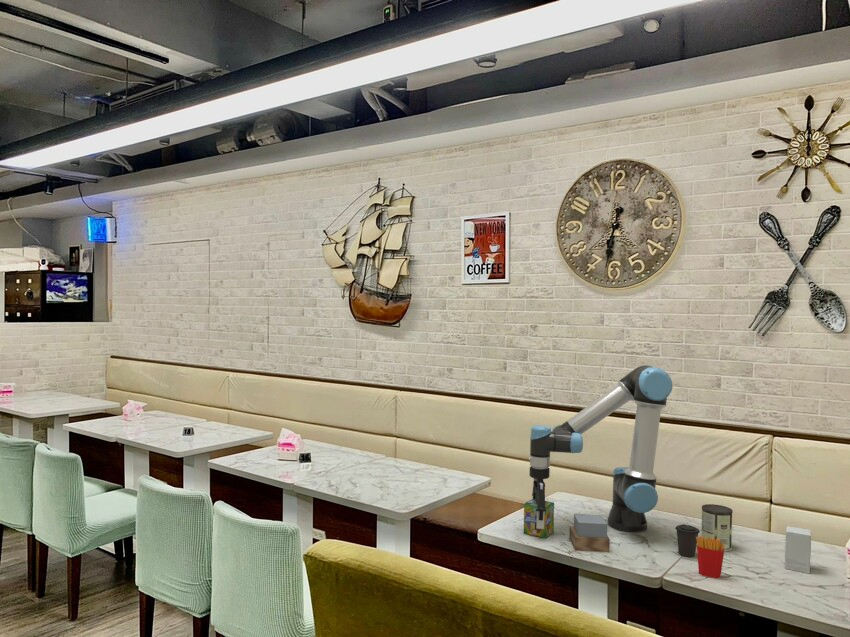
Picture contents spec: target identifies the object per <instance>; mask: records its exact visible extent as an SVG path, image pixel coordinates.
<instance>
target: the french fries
mask: <svg viewBox="0 0 850 637" xmlns="http://www.w3.org/2000/svg"><path fill="white" fill-rule="evenodd" d="M696 540H697V547H696V555H697V568H698V574H699V575H700V576H704V577H706V578H713V579H720V578H721V576H722V571H723V570H722V569H723V562H724V554H725V552H724V549H723V547H724V542H722V543H720V540H719V539H716V541H715V539H712V538H709V537H707V539H704V538H703V537H702V536H701V535H700V536H698V537H696Z"/></svg>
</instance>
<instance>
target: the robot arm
mask: <svg viewBox="0 0 850 637" xmlns="http://www.w3.org/2000/svg"><path fill="white" fill-rule="evenodd" d="M672 390H673V380H672V378H671V376H670V375H669V373H667V372H666V371H665V370H664V369H662V368H660V367H657V366H652V365H645V364H644V365H639V366H638V367H636V368H634V369H633V370H632V371H630V372H629V373H627V374H626V375H625V376H623V377H621V378H620V379H619V380H618V381H617V384H616V385H615V386H613V387H612V388H611V389H609V390H608V391H607V392H605V393H604V394H602V395H601V396H600V397H598V398H597V399H596V400H595V401H593V402H591V403H590V404H589V405H587V406H586V407H584V408H582V410H580V411H579V412H578V413H576V414H574V415H573V416H572V417H570V418H569V419H568V420H566V421H565V422H563V423H562V424H559V425H556V426H554V427H553V428H552V429H551V427H550V426H547V425H538V424H537V425H533V426H532V427H531V429H530V441H529V442H530V445H529V449H530V450H529V451H530V452H529V454H530V455H529V456H530V457H528V461H529V477H530V478H532V479H533V482H532V483H533V485H532V494H531V496H532V499H536V498H535V495H536V494H537V507H538V509H536V511H537V526H536V528H537V529H544V514H545V511H546V509H545V501H546V490H545V488H546V483H545V481H544V480H546V479H549V478H550V473H551V472H550V468H549V467H551V453H565V454H566V453H567V454H568V453H569V454H580V453H582V451H583V448H584V439H583V436H582V434H584V433H585V432H586V431H587V432H588V430H590V429H591V428H593V427H594V426H595V425H597V424H599V422H601V421H602V420H604V419H605V418H607V417H608V416H610V415H611V414H612V413H614V412H616V411H618V409H620V408H621V407H622V406H624V405H625V404H627V403H628V402H629V401H631V402H632V401H633V402H634V403H635V404H636V412H635V420H634V427H633V433H632V434H633V435H632V443H631V450H630V451H631V452H630V456H629V459H630V460H629V466H628V467H625V466H624V467H623V466H622V467H621V466H619V467H615V468H614V469H613V474H612V477H613V478H612V479H613V480H612V504H611V507H610V511H609V512H608V513H609V514H608V516H607V526H609V527H610V528H613V529H614V530H619V531H622V532H631V533H638V532H645V531H647V530H648V520H647V517H646V514H645V513H649V512H650V511H651V512H652V510H653V509H654V508H655V507H656V506H657V504H658V500H659V496H658V492H657V490H656V486H657V479H658V478H657V476H656V474H655V473H654V466H655V461H656V454H657V453H656V450H657V442H658V438H659V427H660V419H661V415H662V414H661V413H662V409H663V408H664V407H666V406H667V402H668V401H667V400H668V397H669V396H670V394H672ZM540 507H543V508H540Z"/></svg>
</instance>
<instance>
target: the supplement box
mask: <svg viewBox="0 0 850 637" xmlns="http://www.w3.org/2000/svg"><path fill="white" fill-rule="evenodd" d="M784 542H785V545H784V569H785V570H789V571H790V570H791V571H794V572H799V573H805V574H810V572H811V552H812V530H811V529H806V528H801V527H793V526H789V525H787V526H786V529H785V540H784Z"/></svg>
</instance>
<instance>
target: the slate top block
mask: <svg viewBox="0 0 850 637" xmlns="http://www.w3.org/2000/svg"><path fill="white" fill-rule="evenodd" d="M604 518H605V517H604V516H602V515H601V514H599V515H598V514H582V513H574V514H573V526H574V529H575V531H576V533H577V535H578V537H591V538H607V536H608V522H607V521H606V520H605V519H604Z"/></svg>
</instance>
